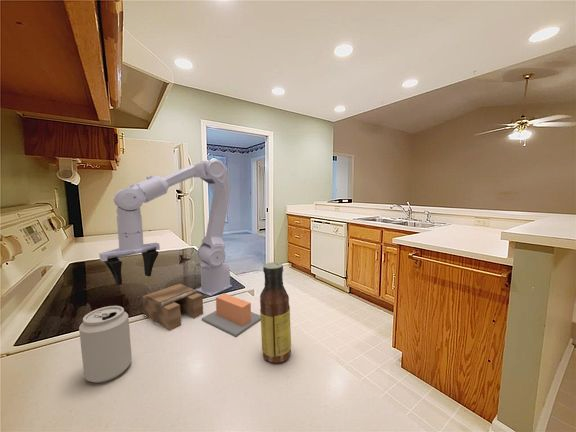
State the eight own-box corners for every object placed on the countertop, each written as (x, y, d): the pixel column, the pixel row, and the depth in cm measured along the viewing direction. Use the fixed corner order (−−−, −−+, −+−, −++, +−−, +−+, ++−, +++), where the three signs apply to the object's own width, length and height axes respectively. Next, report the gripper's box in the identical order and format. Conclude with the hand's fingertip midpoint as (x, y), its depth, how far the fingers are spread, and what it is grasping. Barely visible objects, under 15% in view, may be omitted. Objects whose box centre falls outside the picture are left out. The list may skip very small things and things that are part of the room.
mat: (229, 305, 74) (229, 303, 74) (262, 318, 67) (262, 316, 67) (201, 320, 66) (201, 318, 66) (235, 337, 58) (235, 334, 58)
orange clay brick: (216, 314, 67) (215, 297, 67) (224, 310, 70) (224, 293, 69) (242, 326, 62) (242, 307, 61) (250, 320, 64) (250, 302, 64)
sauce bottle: (292, 346, 55) (292, 260, 53) (289, 366, 49) (290, 270, 47) (263, 344, 56) (262, 259, 53) (257, 363, 50) (256, 269, 47)
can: (114, 386, 44) (108, 324, 42) (73, 386, 44) (66, 323, 43) (140, 357, 51) (136, 303, 50) (105, 357, 51) (100, 302, 50)
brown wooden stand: (143, 315, 68) (142, 292, 67) (176, 301, 76) (175, 281, 75) (169, 330, 61) (168, 305, 60) (203, 313, 69) (202, 291, 68)
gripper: (105, 238, 59) (110, 292, 61) (164, 229, 71) (166, 274, 73) (94, 235, 63) (99, 285, 65) (151, 227, 75) (154, 270, 77)
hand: (134, 279), depth 69 cm, fingers open, 7 cm apart
